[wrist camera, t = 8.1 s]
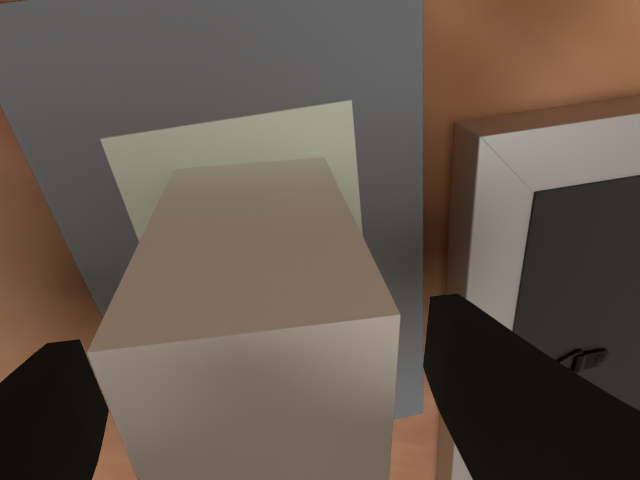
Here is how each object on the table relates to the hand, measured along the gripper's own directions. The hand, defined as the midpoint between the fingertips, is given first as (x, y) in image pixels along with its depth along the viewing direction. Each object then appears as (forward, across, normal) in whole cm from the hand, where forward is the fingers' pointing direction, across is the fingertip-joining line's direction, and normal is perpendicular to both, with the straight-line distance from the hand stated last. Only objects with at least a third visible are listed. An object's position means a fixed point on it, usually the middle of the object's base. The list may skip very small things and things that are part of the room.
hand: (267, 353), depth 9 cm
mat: (+4, 0, 0) cm, 4 cm away
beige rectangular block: (+3, 0, 0) cm, 3 cm away
